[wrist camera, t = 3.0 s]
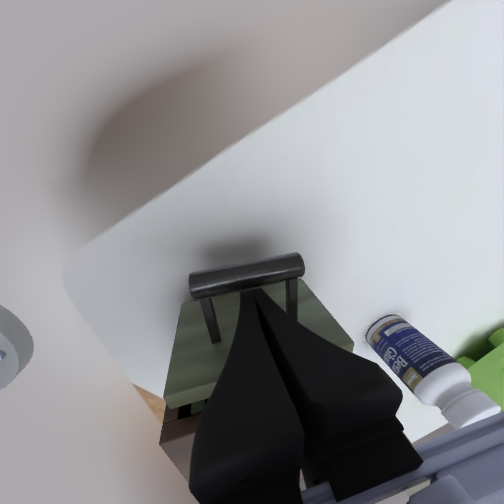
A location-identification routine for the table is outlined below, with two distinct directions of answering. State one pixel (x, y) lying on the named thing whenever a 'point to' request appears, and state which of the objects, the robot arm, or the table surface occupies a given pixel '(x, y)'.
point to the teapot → (489, 370)
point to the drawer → (225, 321)
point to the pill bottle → (430, 372)
